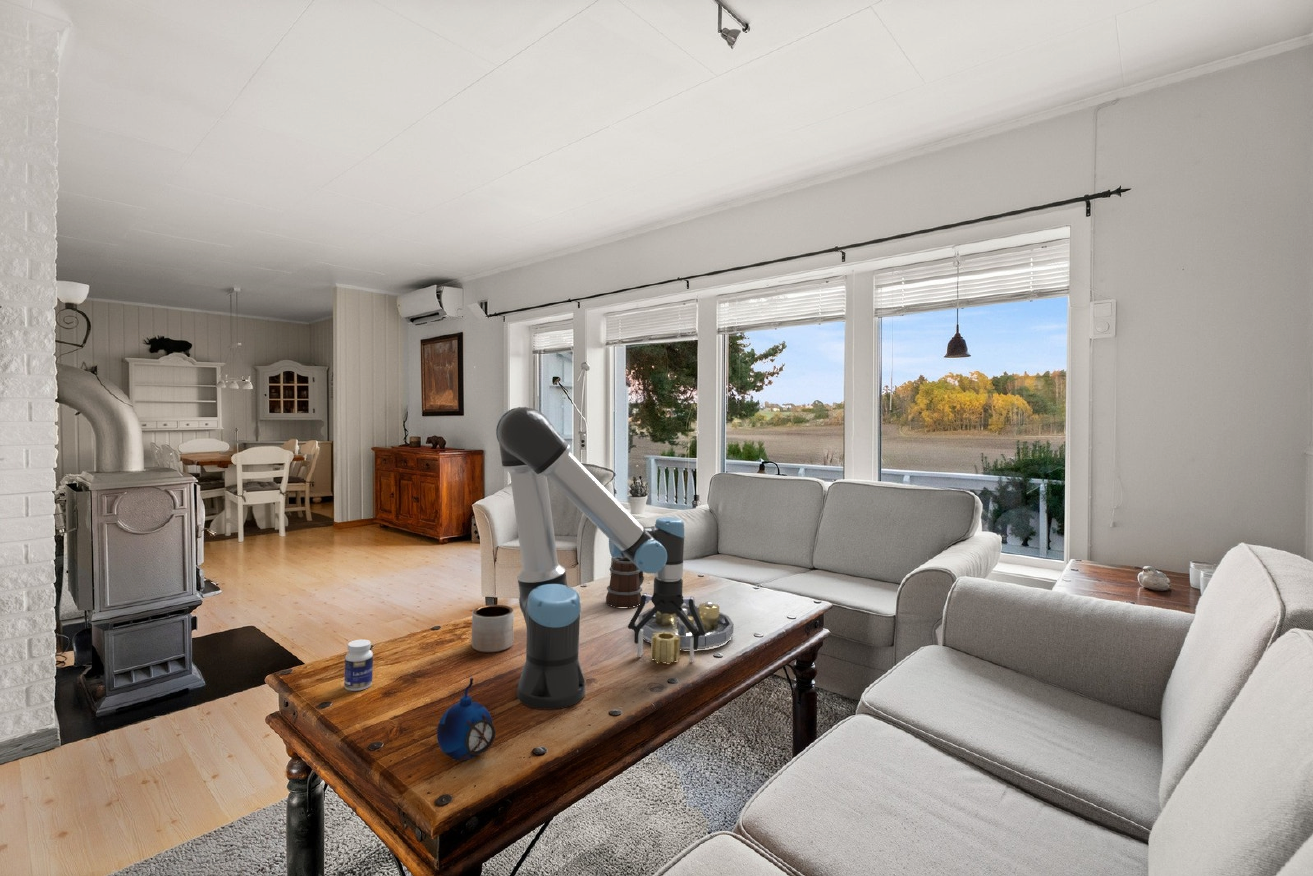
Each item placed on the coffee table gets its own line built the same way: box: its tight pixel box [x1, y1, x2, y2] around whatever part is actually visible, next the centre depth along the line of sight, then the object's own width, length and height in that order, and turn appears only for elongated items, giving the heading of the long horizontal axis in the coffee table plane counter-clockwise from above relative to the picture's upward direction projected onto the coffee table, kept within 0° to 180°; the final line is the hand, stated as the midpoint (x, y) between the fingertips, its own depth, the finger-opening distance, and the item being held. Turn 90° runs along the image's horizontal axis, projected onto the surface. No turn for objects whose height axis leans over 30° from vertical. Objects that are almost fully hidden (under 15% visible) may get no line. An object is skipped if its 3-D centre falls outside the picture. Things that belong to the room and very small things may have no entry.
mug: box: [605, 557, 645, 609], centre depth 208 cm, size 16×12×15 cm
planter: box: [470, 604, 514, 654], centre depth 166 cm, size 11×11×10 cm
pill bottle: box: [343, 639, 374, 692], centre depth 140 cm, size 6×6×10 cm
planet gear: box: [650, 631, 681, 664], centre depth 161 cm, size 7×7×6 cm
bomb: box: [436, 677, 497, 761], centre depth 113 cm, size 10×11×15 cm
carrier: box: [637, 601, 734, 650], centre depth 180 cm, size 27×27×10 cm
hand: (665, 658), depth 162 cm, fingers open, 13 cm apart
